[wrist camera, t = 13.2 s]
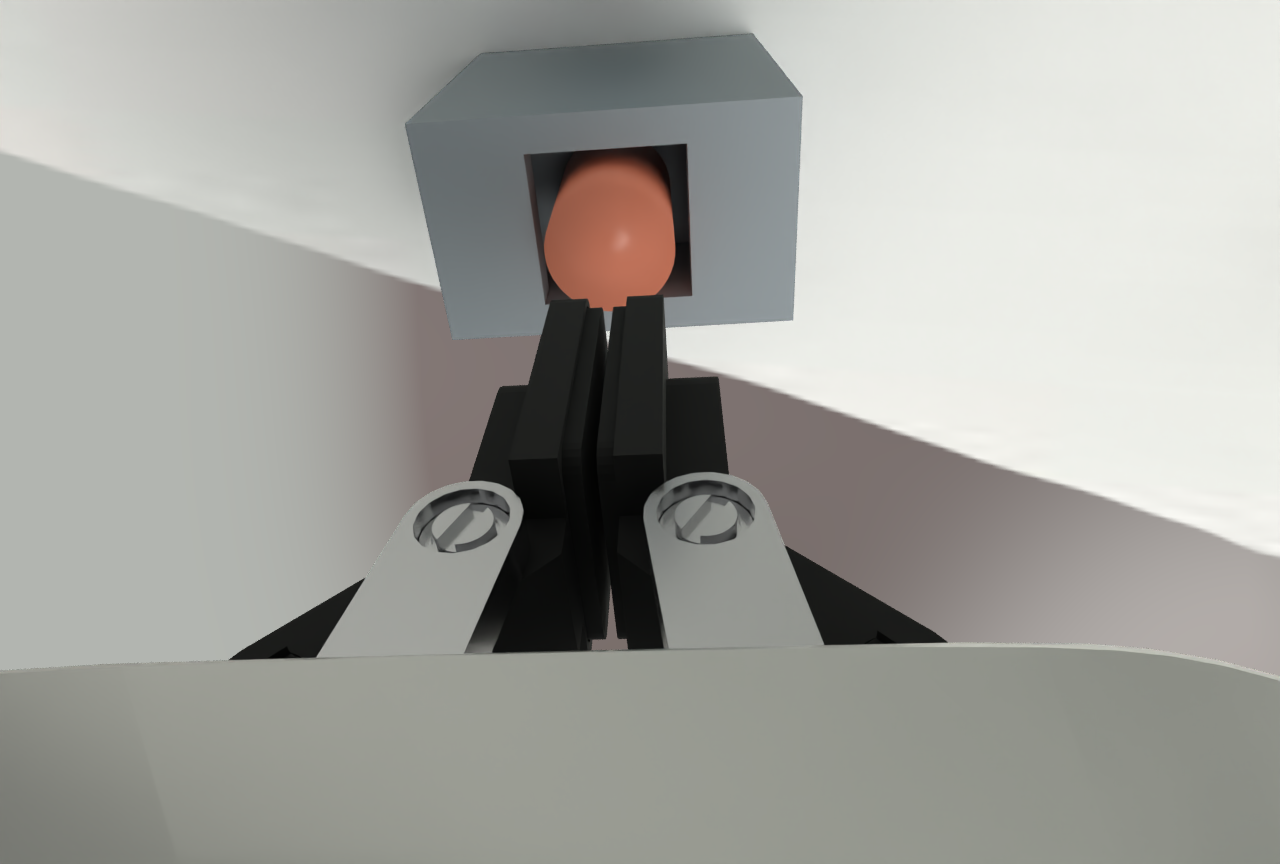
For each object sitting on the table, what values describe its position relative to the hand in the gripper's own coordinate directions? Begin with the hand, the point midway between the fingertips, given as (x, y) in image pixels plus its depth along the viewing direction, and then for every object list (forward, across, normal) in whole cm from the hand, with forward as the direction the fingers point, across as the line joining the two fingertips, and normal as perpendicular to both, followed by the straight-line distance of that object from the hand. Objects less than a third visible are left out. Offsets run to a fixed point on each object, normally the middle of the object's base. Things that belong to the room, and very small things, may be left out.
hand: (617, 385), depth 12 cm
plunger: (+12, +1, +1) cm, 12 cm away
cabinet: (+18, +1, +1) cm, 18 cm away
